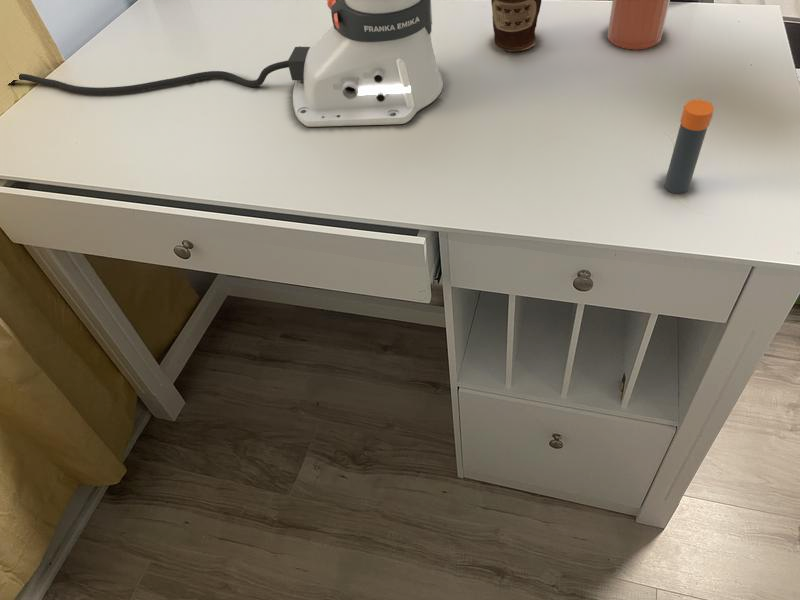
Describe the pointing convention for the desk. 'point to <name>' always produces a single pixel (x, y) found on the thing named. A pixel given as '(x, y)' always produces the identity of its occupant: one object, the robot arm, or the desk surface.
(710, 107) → the marker
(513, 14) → the coffee cup
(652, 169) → the desk surface
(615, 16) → the pen cup
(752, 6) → the desk surface
